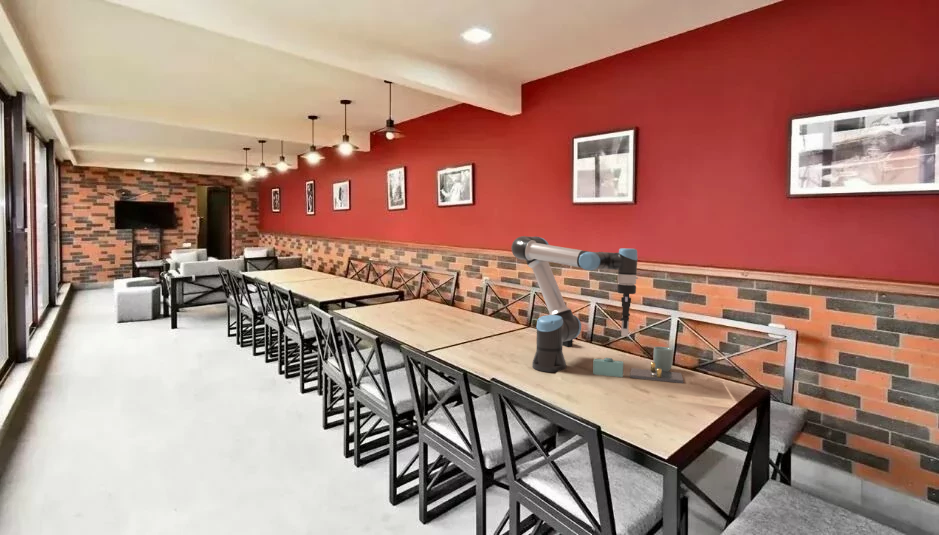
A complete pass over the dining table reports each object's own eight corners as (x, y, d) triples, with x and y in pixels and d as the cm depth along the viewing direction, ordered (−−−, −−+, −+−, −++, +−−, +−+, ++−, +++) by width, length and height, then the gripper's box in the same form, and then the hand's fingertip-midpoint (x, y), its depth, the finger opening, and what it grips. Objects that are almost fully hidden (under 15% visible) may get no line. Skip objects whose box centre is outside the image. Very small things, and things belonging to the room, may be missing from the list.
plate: (630, 377, 188) (630, 366, 188) (631, 370, 199) (631, 360, 199) (683, 383, 181) (683, 371, 180) (680, 375, 192) (681, 364, 192)
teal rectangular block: (593, 374, 193) (593, 358, 193) (594, 372, 197) (594, 356, 196) (622, 377, 188) (622, 361, 188) (623, 375, 192) (623, 359, 192)
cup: (674, 373, 195) (674, 350, 195) (655, 372, 197) (655, 349, 196) (669, 369, 203) (670, 347, 202) (651, 368, 204) (652, 346, 204)
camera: (581, 350, 239) (582, 332, 239) (568, 353, 233) (569, 333, 233) (557, 344, 254) (558, 327, 253) (544, 346, 248) (545, 328, 248)
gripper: (637, 287, 180) (634, 339, 181) (635, 282, 204) (633, 329, 205) (617, 286, 183) (615, 337, 184) (618, 281, 206) (615, 327, 207)
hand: (624, 333), depth 194 cm, fingers open, 13 cm apart
